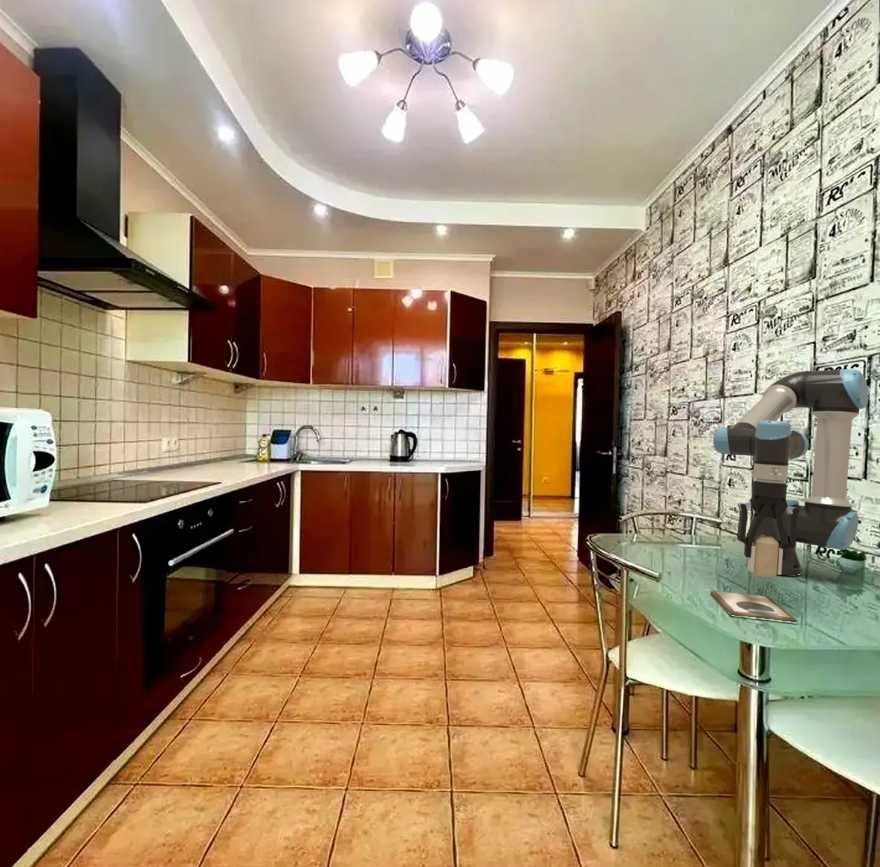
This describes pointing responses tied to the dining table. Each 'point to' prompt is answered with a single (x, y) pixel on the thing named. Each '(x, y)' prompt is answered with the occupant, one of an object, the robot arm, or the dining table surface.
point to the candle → (765, 556)
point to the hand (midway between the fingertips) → (763, 571)
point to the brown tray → (751, 606)
